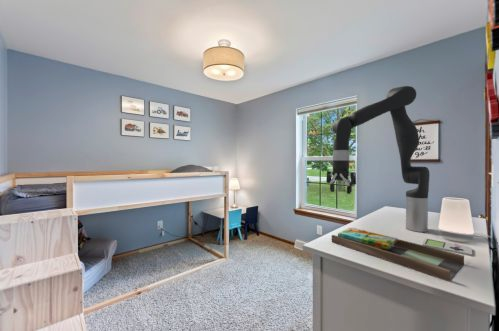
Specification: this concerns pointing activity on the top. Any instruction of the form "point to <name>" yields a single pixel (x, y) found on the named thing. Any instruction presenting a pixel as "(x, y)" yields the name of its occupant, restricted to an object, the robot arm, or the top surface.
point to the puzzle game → (368, 238)
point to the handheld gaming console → (448, 246)
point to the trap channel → (412, 256)
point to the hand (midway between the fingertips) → (340, 192)
